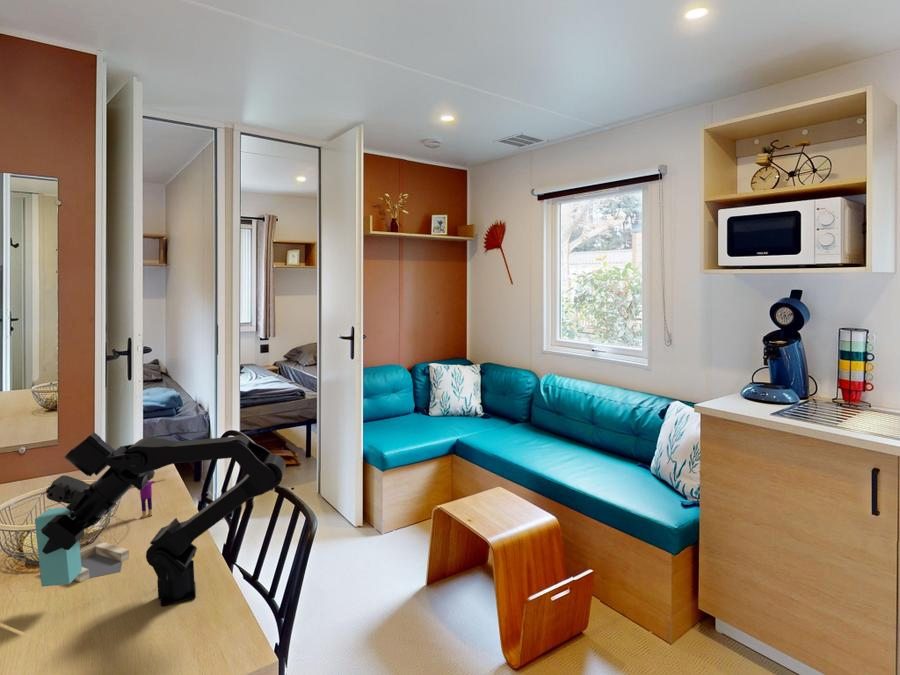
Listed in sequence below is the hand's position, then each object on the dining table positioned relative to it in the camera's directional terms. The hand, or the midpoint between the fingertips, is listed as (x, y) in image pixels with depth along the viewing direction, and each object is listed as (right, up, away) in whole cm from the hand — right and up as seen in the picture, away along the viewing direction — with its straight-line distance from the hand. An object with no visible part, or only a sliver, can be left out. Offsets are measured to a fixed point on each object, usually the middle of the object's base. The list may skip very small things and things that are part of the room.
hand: (51, 545), depth 109 cm
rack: (-2, -11, +16) cm, 20 cm away
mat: (-2, -11, +16) cm, 20 cm away
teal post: (+1, -7, +1) cm, 7 cm away
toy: (-4, -9, +42) cm, 43 cm away
